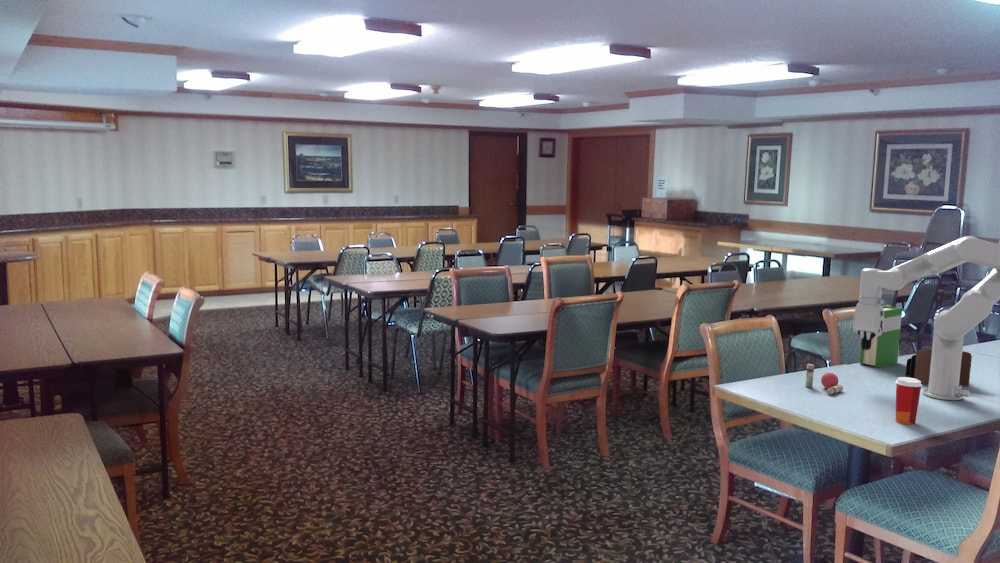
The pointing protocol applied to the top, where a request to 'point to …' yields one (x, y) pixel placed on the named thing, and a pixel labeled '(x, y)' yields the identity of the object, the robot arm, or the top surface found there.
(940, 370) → the robot arm
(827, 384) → the ball
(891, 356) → the hardback book
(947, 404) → the top surface
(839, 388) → the ivory pin
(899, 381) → the paper cup
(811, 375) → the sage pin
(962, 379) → the letter holder
